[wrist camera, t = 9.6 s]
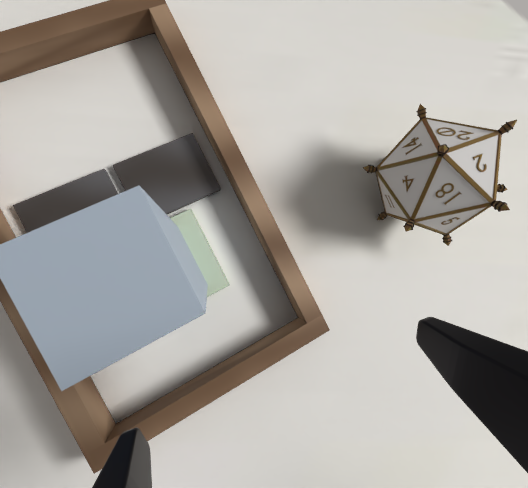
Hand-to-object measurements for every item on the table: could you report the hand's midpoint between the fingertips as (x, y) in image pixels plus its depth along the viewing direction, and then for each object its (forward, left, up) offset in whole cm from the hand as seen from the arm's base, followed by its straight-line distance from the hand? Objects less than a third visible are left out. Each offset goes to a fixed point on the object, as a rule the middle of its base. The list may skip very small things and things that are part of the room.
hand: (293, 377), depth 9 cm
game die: (+10, -12, -12) cm, 20 cm away
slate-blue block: (+3, +6, -12) cm, 13 cm away
